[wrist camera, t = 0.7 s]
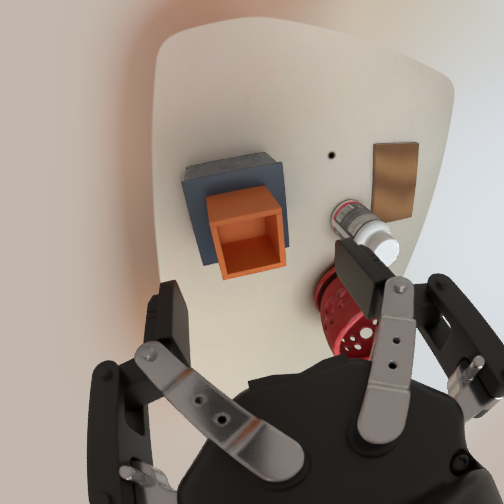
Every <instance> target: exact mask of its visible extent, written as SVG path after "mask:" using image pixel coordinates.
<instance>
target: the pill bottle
mask: <svg viewBox="0 0 504 504" xmlns="http://www.w3.org/2000/svg"><path fill="white" fill-rule="evenodd" d="M331 224H332V228H333V230H334V231H335V232H336V233H337V234H338V235H339V237H340V238H341V239H344V238H348V237H351V238H352V239H353V240H354V241H355V242H356V243H357V244H358V245H360V244H362V245H364V246H366V247H368V248H370V249H371V250H372V251H373V252H374V253H375V254H376V256H378V257H379V259H380V261H382V262H383V263H384V264H385V265H386V266H387V267H388V266H389V265H391V264H392V263H393V262H394V261H395V259H396V258H397V256H398V253H399V244H398V242H397V241H396V240H395V239H394V238H393V237H392V236H391V231H390V229H389V227H388V225H387V224H386V223H385V222H383V221H382V220H381V219H380V218H378V217H377V216H376V215H375V214H373V213H372V212H371V211H370V210H369V209H367V208H366V207H365V206H363V205H362V204H361V203H359V202H358V201H355V200H347V201H344V202H342V203H341V204H340V205H338V206H337V207H336V209H335V210H334V212H333V214H332V218H331Z"/></svg>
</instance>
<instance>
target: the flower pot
mask: <svg viewBox="0 0 504 504" xmlns="http://www.w3.org/2000/svg"><path fill="white" fill-rule="evenodd" d="M314 302H315V305H316V308H317V310H318V311H319V312H320V314H321V322H322V326H323V331H324V334H325V337H326V339H327V342H328V344H329V347H330V349H331V351H332V353H333V354H334V356H336V355H339V354H342V353H345V354H346V355H347V357H348V359H351V358H358V359H365V360H369V357H370V353H371V349H372V344H373V340H374V335H375V330H376V325H374V324H373V321H374V320H375V319H376V318H372V319H370V320H367V319H366V317H365V316H364V314H363V313H362V311H361V309H360V308H359V306H358V305H357V304H356V302H355V301H354V299H353V298H352V296H351V295H350V293H349V292H348V290H347V289H346V287H345V286H344V284H343V283H342V282H341V280H340V279H339V277H338V275H337V273H336V270H335V266H334V267H333V268H332V269H330V270H329V271H328V272H327V273H326V274H325V275H324V276H323V277H322V279H321V280H320V282H319V283H318V285H317V288H316V290H315V295H314ZM363 328H371V329H372V331H373V334H372V336H371V337H369V338H368V339H364V338H362V337H361V336H360V331H361V330H362V329H363ZM350 337H354V338H355V341H352V340H351V339H350ZM342 339H344V340H345V342H343V341H341V340H342ZM354 345H360V346H361V349H360V350H358V349H356V348H355V347H354ZM339 348H340V350H339ZM345 348H347V349H348V350H349V351H347V350H346V349H345Z"/></svg>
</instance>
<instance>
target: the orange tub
mask: <svg viewBox="0 0 504 504" xmlns="http://www.w3.org/2000/svg"><path fill="white" fill-rule="evenodd" d="M206 201H207V210H208V217H209V224H210V228H211V233H212V237H213V241H214V245H215V249H216V254H217V258H218V262H219V266H220V270H221V274H222V278H223V280H226V279H231V278H235V277H239V276H244V275H248V274H253V273H257V272H262V271H266V270H270V269H275V268H279V267H283V266H286V256H285V243H284V231H283V219H282V208H281V207H280V205H279V204H278V202H277V201H276V200H275V198H274V197H273V196H272V194H271V193H270V191H269V190H268V189H267V187H266V186H265V185H262V186H257V187H252V188H246V189H241V190H236V191H231V192H227V193H222V194H217V195H212V196H208V197H206Z"/></svg>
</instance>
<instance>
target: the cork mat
mask: <svg viewBox="0 0 504 504" xmlns="http://www.w3.org/2000/svg"><path fill="white" fill-rule="evenodd" d="M418 149H419V143H416V142H413V143H384V144H374V165H373V190H372V206H371V212H372V213H373V214H375V215H376V216H377V217H378V218H380V219H381V220H382V221H383V222H385V223H387V222H391V221H396V220H400V219H405V218H409V217H412V210H413V203H414V195H415V186H416V177H417V165H418Z"/></svg>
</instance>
